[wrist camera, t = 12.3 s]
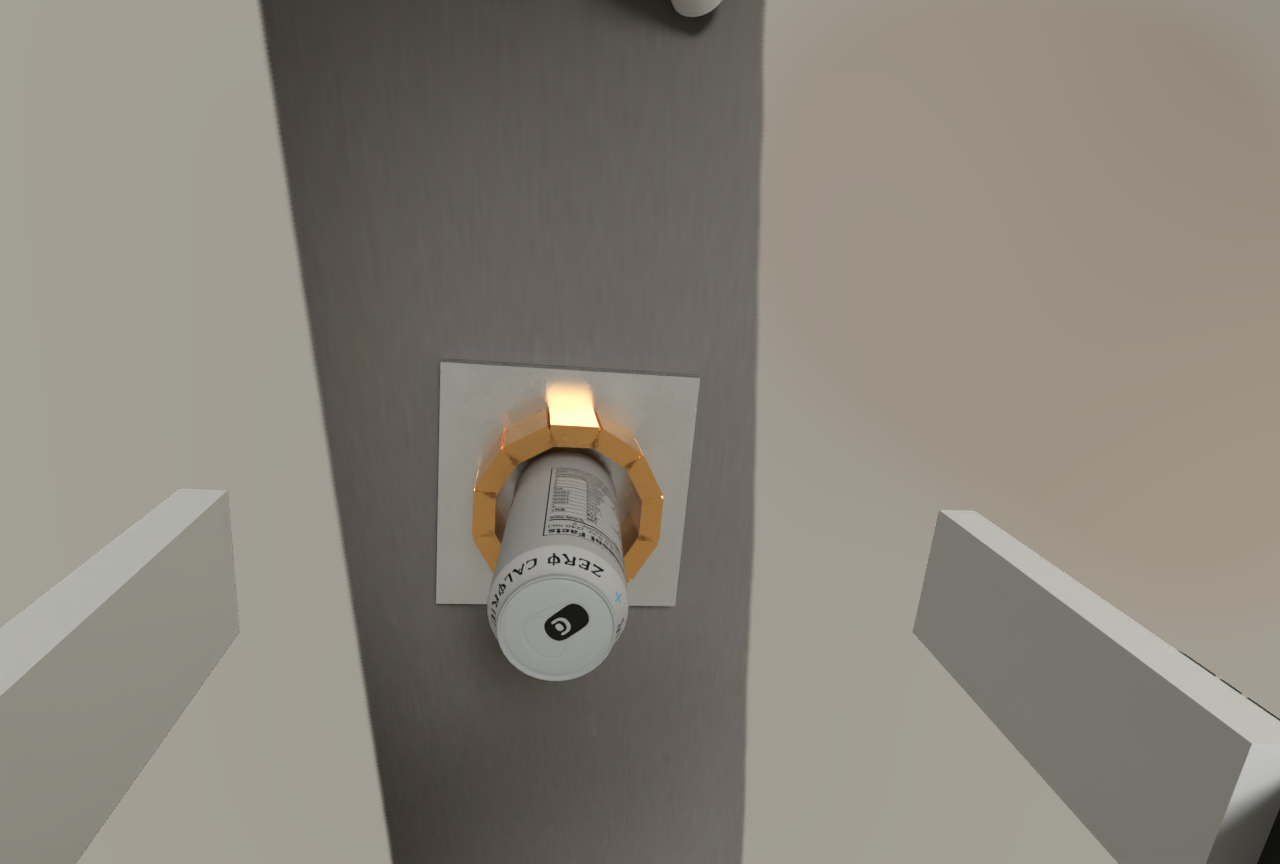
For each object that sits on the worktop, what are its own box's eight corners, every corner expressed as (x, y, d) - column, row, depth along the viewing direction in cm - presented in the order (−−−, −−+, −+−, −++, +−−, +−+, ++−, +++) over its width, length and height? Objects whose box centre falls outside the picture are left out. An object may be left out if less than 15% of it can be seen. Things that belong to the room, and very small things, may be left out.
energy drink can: (494, 484, 43) (450, 619, 29) (575, 426, 42) (571, 534, 28) (556, 557, 45) (543, 718, 30) (635, 502, 44) (660, 641, 30)
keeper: (443, 358, 42) (430, 374, 37) (695, 374, 44) (715, 391, 39) (438, 594, 46) (426, 638, 41) (671, 597, 48) (687, 639, 43)
